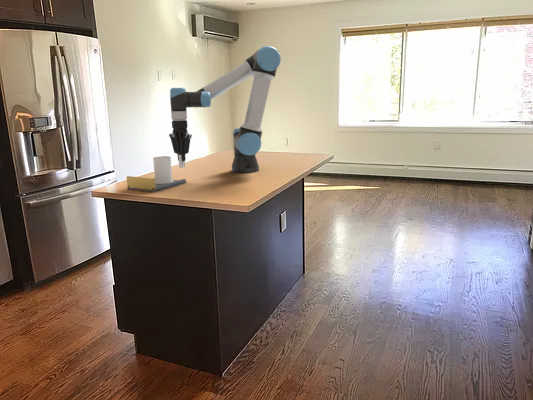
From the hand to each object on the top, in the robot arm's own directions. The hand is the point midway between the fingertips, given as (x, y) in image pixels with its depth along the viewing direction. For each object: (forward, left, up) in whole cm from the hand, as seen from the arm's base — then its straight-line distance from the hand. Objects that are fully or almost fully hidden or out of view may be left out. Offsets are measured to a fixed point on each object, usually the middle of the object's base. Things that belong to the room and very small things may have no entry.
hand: (182, 167), depth 218 cm
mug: (0, +13, -5) cm, 14 cm away
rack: (0, +19, -6) cm, 20 cm away
